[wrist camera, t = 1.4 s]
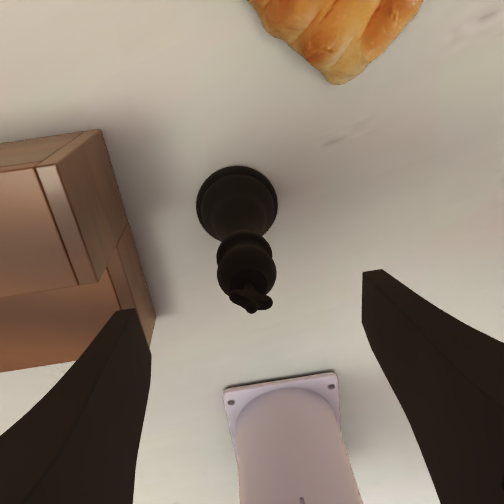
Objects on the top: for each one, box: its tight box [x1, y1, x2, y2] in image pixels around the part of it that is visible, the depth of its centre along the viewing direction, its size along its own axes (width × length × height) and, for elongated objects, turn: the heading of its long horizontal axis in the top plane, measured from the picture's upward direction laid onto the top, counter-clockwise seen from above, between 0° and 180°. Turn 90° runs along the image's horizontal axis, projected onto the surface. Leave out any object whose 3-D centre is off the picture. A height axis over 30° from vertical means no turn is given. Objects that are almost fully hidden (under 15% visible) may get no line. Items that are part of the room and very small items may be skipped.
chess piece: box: [196, 166, 278, 314], centre depth 18 cm, size 4×4×10 cm
